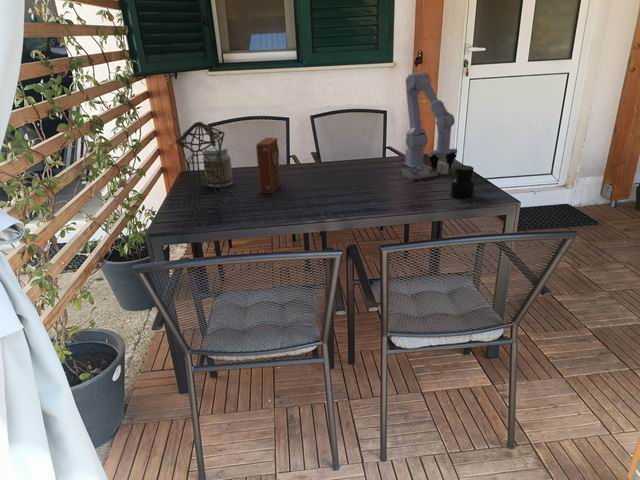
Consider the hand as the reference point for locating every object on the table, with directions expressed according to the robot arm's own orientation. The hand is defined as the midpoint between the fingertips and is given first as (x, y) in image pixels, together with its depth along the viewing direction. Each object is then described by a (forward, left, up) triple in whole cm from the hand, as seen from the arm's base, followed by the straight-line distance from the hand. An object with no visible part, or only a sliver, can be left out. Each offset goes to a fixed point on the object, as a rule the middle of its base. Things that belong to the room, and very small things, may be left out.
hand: (441, 169), depth 217 cm
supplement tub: (-28, -101, -2) cm, 105 cm away
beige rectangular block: (0, 0, -2) cm, 2 cm away
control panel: (-11, -81, -2) cm, 82 cm away
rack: (0, -12, -1) cm, 12 cm away
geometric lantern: (+10, -110, -2) cm, 110 cm away
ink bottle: (+33, -12, -2) cm, 35 cm away
